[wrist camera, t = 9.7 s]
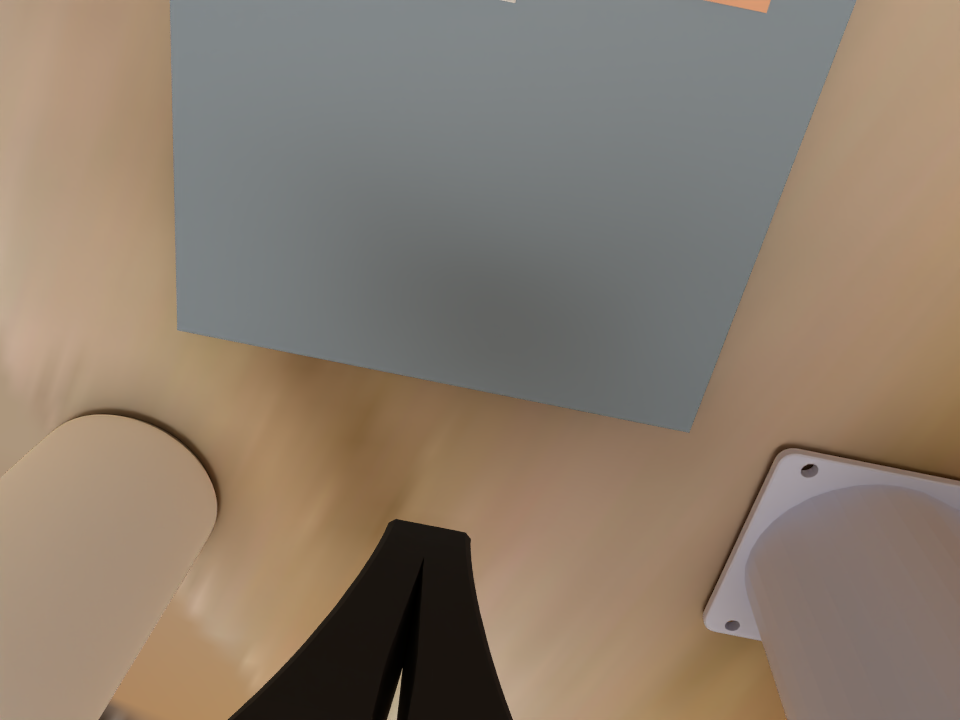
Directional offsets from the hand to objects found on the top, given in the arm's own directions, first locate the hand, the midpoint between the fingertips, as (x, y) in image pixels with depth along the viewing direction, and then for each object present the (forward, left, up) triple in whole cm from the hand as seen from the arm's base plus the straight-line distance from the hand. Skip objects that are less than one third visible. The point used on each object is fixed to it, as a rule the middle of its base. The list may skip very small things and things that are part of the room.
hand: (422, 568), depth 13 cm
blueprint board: (+1, -7, -10) cm, 13 cm away
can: (+11, +9, -11) cm, 18 cm away
